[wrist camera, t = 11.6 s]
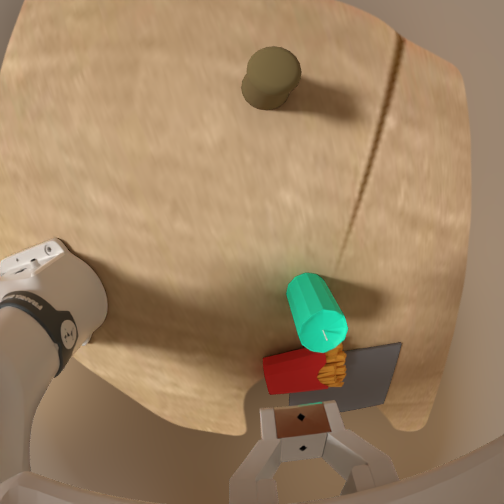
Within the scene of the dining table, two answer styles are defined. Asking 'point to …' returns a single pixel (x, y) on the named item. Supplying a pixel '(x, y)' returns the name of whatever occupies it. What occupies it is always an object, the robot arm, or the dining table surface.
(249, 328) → the dining table surface
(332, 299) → the candle
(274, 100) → the cork
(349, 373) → the mat
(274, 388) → the french fries
